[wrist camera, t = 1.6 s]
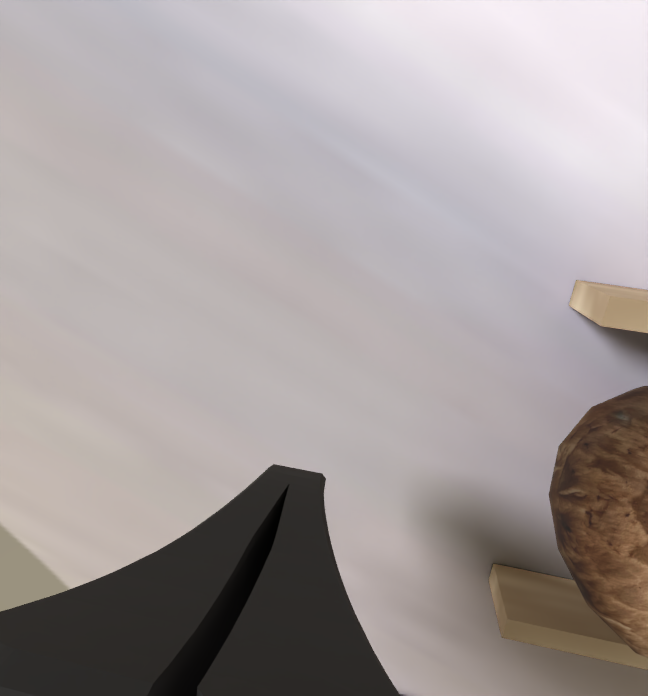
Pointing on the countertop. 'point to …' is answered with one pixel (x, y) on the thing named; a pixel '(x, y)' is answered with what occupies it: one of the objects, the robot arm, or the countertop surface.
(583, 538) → the mushroom
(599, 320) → the guide fence
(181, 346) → the countertop surface
